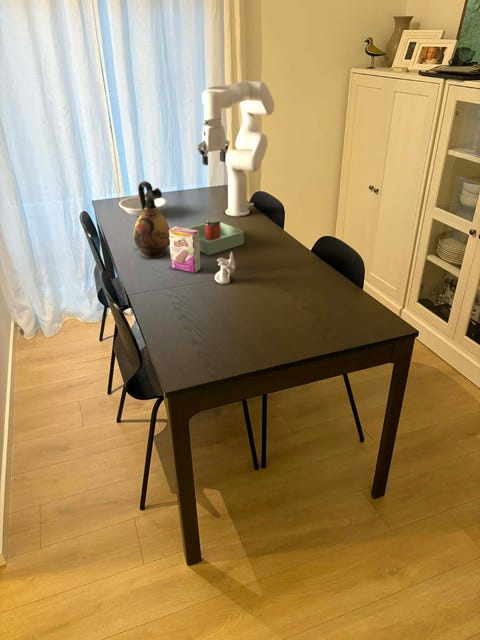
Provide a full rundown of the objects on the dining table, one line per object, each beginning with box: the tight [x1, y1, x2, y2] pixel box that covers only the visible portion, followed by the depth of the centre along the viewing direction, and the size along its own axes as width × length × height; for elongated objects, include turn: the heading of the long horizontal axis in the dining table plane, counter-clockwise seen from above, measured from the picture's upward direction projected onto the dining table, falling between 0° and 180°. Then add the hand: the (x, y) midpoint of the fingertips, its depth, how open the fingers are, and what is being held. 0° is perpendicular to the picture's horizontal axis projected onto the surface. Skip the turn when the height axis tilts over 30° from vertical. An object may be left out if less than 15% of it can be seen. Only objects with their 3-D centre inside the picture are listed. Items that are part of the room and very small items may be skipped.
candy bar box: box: [169, 225, 202, 274], centre depth 192 cm, size 11×5×16 cm, turn 65°
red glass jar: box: [204, 216, 221, 241], centre depth 216 cm, size 7×7×10 cm
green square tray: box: [187, 221, 245, 256], centre depth 218 cm, size 20×20×6 cm
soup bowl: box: [118, 195, 168, 218], centre depth 250 cm, size 24×24×7 cm
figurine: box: [214, 251, 236, 285], centre depth 182 cm, size 11×8×12 cm
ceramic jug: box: [132, 180, 170, 259], centre depth 201 cm, size 17×15×30 cm
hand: (214, 163), depth 221 cm, fingers open, 9 cm apart
